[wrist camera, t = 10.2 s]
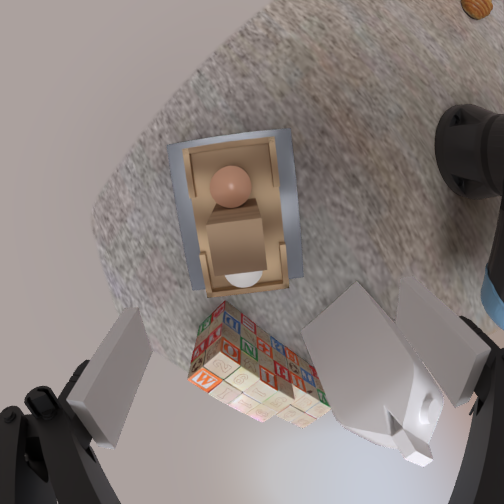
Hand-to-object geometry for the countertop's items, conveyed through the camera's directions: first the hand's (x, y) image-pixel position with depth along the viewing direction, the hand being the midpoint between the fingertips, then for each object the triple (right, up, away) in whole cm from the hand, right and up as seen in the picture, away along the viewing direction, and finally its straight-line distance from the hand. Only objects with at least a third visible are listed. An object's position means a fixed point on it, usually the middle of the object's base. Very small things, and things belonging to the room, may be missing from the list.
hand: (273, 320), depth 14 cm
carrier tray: (-3, +8, +20) cm, 22 cm away
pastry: (+40, +49, +12) cm, 64 cm away
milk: (+15, -9, +31) cm, 35 cm away
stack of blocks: (+1, -12, +32) cm, 34 cm away
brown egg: (-3, +10, +16) cm, 19 cm away
